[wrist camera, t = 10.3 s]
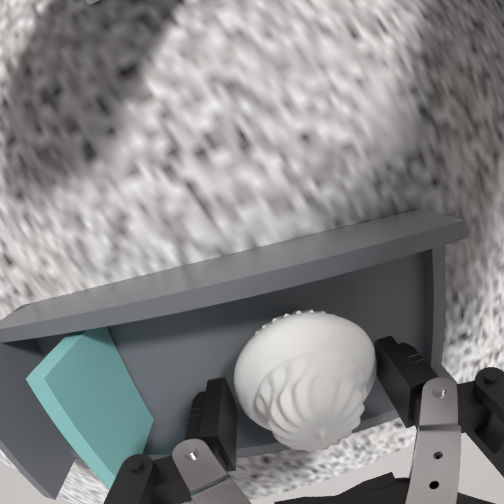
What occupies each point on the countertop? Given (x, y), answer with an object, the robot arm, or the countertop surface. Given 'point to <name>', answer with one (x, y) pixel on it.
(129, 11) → the countertop surface
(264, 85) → the countertop surface
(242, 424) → the pusher lane
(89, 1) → the supplement box
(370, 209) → the countertop surface
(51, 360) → the teal flat slab
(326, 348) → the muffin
